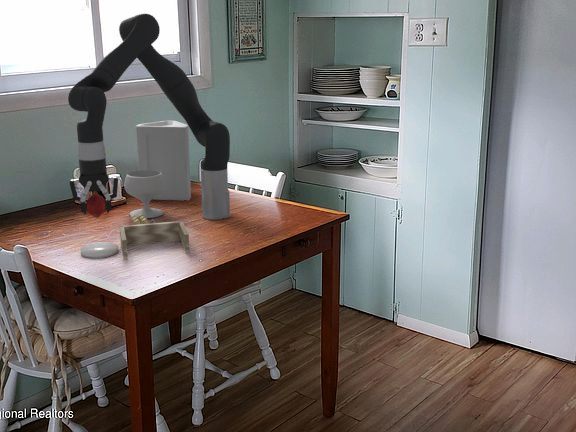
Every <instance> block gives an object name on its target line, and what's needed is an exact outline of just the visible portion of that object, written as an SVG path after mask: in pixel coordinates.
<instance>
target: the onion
mask: <svg viewBox="0 0 576 432" xmlns="http://www.w3.org/2000/svg"><path fill="white" fill-rule="evenodd" d="M105 211H107V208H106V198H104V197H103V196H102V195H100V194H99V191H93V193H92V194H91V195H90V196H89V197H88V198H87V200H86V212H87V213H88V214H89V215H91V216H92V217H94V218H96V219H98V218H100V217H101V216H102V215H103V214H104V213H105Z"/></svg>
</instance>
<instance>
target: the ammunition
mask: <svg viewBox="0 0 576 432" xmlns="http://www.w3.org/2000/svg"><path fill="white" fill-rule="evenodd" d="M138 217H139V218H137V217H136V216H135V214H134V215H132V216H130V219H131V221H132V222H133V225H139V224H152V223H157V222H156V220H154V218H149V219H148V218H145V216H143V214H139V215H138Z"/></svg>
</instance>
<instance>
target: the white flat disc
mask: <svg viewBox="0 0 576 432" xmlns="http://www.w3.org/2000/svg"><path fill="white" fill-rule="evenodd" d="M119 252H120V251H119V245H118V244H117V243H113V242H109V241H99V242H93V243H87V244H85V245H83V246H82V247H80V255H81V256H82V257H84V258H89V259H104V258H108V257H112V256H114V255H115V256H116V254H118V253H119Z"/></svg>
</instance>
